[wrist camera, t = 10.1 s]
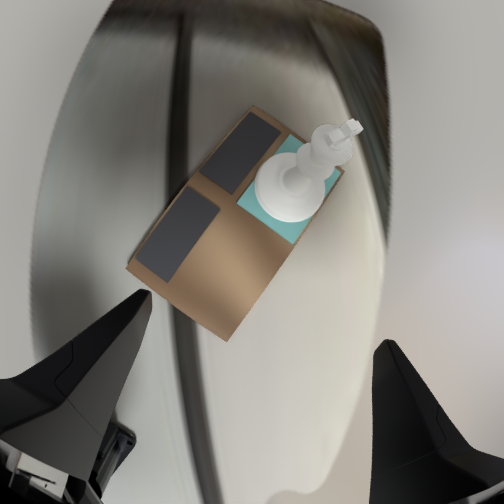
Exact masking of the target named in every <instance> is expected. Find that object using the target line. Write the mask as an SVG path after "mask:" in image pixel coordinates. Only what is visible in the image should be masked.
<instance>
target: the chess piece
mask: <svg viewBox="0 0 504 504" xmlns="http://www.w3.org/2000/svg"><path fill="white" fill-rule="evenodd" d="M362 130H363V128H362V126H361V125H360V123H359V122H358V121H355V120H354V119H351V120H348V121H346V122H345V123H344V124H343V125H342V126H341V127H339V126H337V125H333V124H323V125H320V126H319V127H317V128H316V129H315V130H314V132H313V133H312V136H311V142H309V143H306V144H304V145H302V146H301V147H300V148H299V149H298V151H297V153H291V152H286V153H280V154H277V155H274V156H272V157H271V158H269V159H268V160H267V161H266V162H264V163H263V164H262V166H261V167H260V168H259V170H258V172H257V174H256V178H255V184H254V187H255V194H256V197H257V200H258V202H259V204H260V205H261V207H262V208H263V209H264V210H265V211H266V212H267V213H268V214H269V215H270V216H272V217H273V218H275V219H277V220H280V221H283V222H300V221H303V220H305V219H307V218H309V217H311V216H312V215H313V214H314V213H315V212H316V211H317V210H318V209H319V207H320V206H321V204H322V202H323V199H324V196H325V182H324V180H325V179H327V178H329V177H330V176H331V175H332V173H333V171H334V168H335V166H339V165H342V164H345V163H346V162H348V161H349V160H350V158H351V157H352V154H353V143H352V140H351V138H350V137H352V136H354V135H356V134H358V133H360V132H361V131H362Z"/></svg>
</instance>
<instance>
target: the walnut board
mask: <svg viewBox="0 0 504 504" xmlns="http://www.w3.org/2000/svg"><path fill="white" fill-rule="evenodd" d="M250 111H251V112H252V113H254V114H256V115H257V116H259V117H260V118H262V119H263V120H265V121H266V122H268V123H269V124H271V125H272V126H274V127H275V128H276V129H278V130H279V131H281V134H280V135H279V136H278V137H277V138H276V140H275V141H274V142H273V143H272V145H271V146H270V147H269V148H268V150H267V151H266V152H265V153H264V155H263V156H262V157H261V158H260V160H259V161H258V162H257V163H256V165H255V166H254V167H253V168H252V170H251V171H250V172H249V173H248V175H247V176H246V177H245V179H244V180H243V181H242V182H241V184H240V185H239V186H238V188H237V189H236V190H235V192H234V193H233V194H232V195H231V194H230V193H229V192H227V191H226V190H224V189H223V188H222V187H220V186H219V185H217V184H216V183H215V182H213V181H212V180H210V179H209V178H207V177H206V176H205V175H203V174H202V173H200V172H199V170H200V169H201V168H202V167H203V165H204V164H205V163H206V162H207V160H208V159H209V158H210V157H211V156H212V154H213V153H214V152H215V151H216V150H217V148H218V147H219V146H220V145H221V144H222V143H223V141H224V140H225V139H226V138H227V137H228V136H229V134H230V133H231V132H232V131H233V130H234V129H235V128H236V127H237V125H238V124H239V123H240V122H241V121H242V120H243V119H244V118H245V117H246V115H247V114H248V113H249V112H250ZM290 134H291V135H292V136H294V137H295V138H297V139H298V140H299V141H301V142H302V143H303V144H306V143H308V142H306V141H305V140H304V139H302V138H301V137H299V136H298V135H297V134H295V133H294V132H292V131H291V130H290V129H288V128H287V127H285V126H284V125H282V124H281V123H280V122H278V121H277V120H275V119H274V118H272V117H271V116H269V115H268V114H266V113H265V112H263V111H262V110H260V109H259V108H257V107H255V106H254V105H253V106H252V107H251V108H250V109H249V110H248V111H247V113H246V114H245V115H244V116H243V117H242V118H241V119H240V120H239V121H238V122H237V124H236V125H235V126H234V127H233V128H232V129H231V130H230V131H229V133H228V134H227V135H226V136H225V137H224V138H223V140H222V141H221V142H220V143H219V144H218V145H217V147H216V148H215V149H214V150H213V151H212V152H211V154H210V155H209V156H208V157H207V158H206V160H205V161H204V162H203V163H202V165H201V166H200V167H199V168H198V169H197V171H196V172H195V173H194V174H193V176H192V177H191V178H190V179H189V181H188V182H187V183H186V185H185V186H184V187H183V188H182V190H181V191H180V192H179V194H178V195H177V196H176V198H175V199H174V200H173V201H172V203H171V204H170V205H169V207H168V208H167V209H166V211H165V212H164V214H163V215H162V216H161V218H160V219H159V220H158V222H157V223H156V225H155V226H154V227H153V229H152V230H151V232H150V233H149V234H148V236H147V237H146V239H145V240H144V242H143V243H142V244H141V246H140V247H139V249H138V250H137V252H136V253H135V255H134V256H133V258H132V259H131V261H130V262H129V264H128V265H127V267H126V268H125V269H127V270H128V271H129V272H130V273H132V274H133V275H134V276H135V277H137V278H138V279H139V280H141V281H142V282H143V283H144V284H146V285H147V286H148V287H150V288H151V289H152V290H154V291H155V292H156V293H157V294H159V295H160V296H161V297H163V298H164V299H166V300H167V301H168V302H170V303H171V304H172V305H174V306H175V307H176V308H178V309H179V310H181V311H182V312H183V313H185V314H186V315H188V316H189V317H190V318H192V319H193V320H195V321H196V322H198V323H199V324H200V325H202V326H203V327H205V328H206V329H208V330H209V331H211V332H212V333H214V334H215V335H217V336H218V337H220V338H221V339H223V340H224V341H226V342H227V341H228V340H229V338H230V337H231V336H232V334H233V333H234V332H235V330H236V329H237V327H238V326H239V325H240V323H241V322H242V321H243V319H244V318H245V316H246V315H247V314H248V312H249V311H250V309H251V308H252V307H253V305H254V304H255V302H256V301H257V300H258V298H259V297H260V295H261V294H262V293H263V291H264V290H265V288H266V287H267V286H268V284H269V283H270V281H271V280H272V278H273V277H274V276H275V274H276V273H277V271H278V270H279V268H280V267H281V266H282V264H283V263H284V261H285V260H286V258H287V257H288V255H289V254H290V253H291V251H292V250H293V248H294V247H295V245H296V244H297V242H298V241H299V239H300V238H301V236H302V235H303V233H304V232H305V231H306V229H307V228H308V226H309V225H310V223H311V222H312V220H313V219H314V217H315V216H316V214H317V213H318V211H319V210H320V208H321V207H322V205H323V204H324V202H325V201H326V199H327V198H328V196H329V195H330V193H331V192H332V190H333V189H334V187H335V185H336V184H337V182H338V181H339V179H340V178H341V176H342V175H343V173H344V172H345V171H344V170H342V169H341V168H340V167H339V166H335V168H336V169H337V170H339V171H340V172H341V174H340V175H339V177H338V178H337V180H336V181H335V183H334V185H333V186H332V188H331V189H330V191H329V192H328V194H327V195H326V197H325V198H324V200H323V202H322V204H321V206H320V207H319V209H318V210H317V211H316V212H315V213H314V215H313V216H312V218H311V219H310V220H309V222H308V223H307V225H306V226H305V228H304V229H303V231H302V232H301V234H300V235H299V237H298V238H297V240H296V241H295V243H294V244H293V245H292V244H291V243H290V242H288V241H287V240H286V239H284V238H283V237H282V236H280V235H279V234H278V233H276V232H275V231H274V230H272V229H271V228H269V227H268V226H267V225H265V224H264V223H263V222H261V221H260V220H259V219H257V218H256V217H254V216H253V215H252V214H250V213H249V212H248V211H246V210H245V209H243V208H242V207H241V206H239V205H238V204H237V202H238V201H239V199H240V198H241V197H242V195H243V194H244V193H245V191H246V190H247V189H248V187H249V186H250V185H251V183H252V182H253V181H254V180H255V178H256V174H257V172H258V170H259V168H260V167H261V166H262V164H263V163H264V162H266V161H267V160H268V159H269V158H271V157H272V156H273V155H274V154H275V153H276V151H277V150H278V149H279V148H280V146H281V145H282V144H283V143H284V141H285V140H286V139H287V138H288V136H289V135H290ZM187 186H188V187H190V188H191V189H193V190H194V191H195V192H197V193H198V194H200V195H201V196H202V197H204V198H205V199H207V200H208V201H209V202H211V203H212V204H214V205H215V206H216V207H218V208H219V209H220V211H219V213H218V214H217V215H216V217H215V218H214V219H213V221H212V222H211V223H210V225H209V226H208V228H207V229H206V230H205V232H204V233H203V234H202V236H201V237H200V238H199V240H198V241H197V243H196V244H195V245H194V247H193V248H192V250H191V251H190V252H189V254H188V255H187V257H186V258H185V259H184V261H183V262H182V264H181V265H180V266H179V268H178V269H177V271H176V272H175V274H174V275H173V276H172V278H171V279H170V281H169V282H168V283H166V282H165V281H164V280H162V279H161V278H160V277H158V276H157V275H156V274H154V273H153V272H152V271H150V270H149V269H148V268H146V267H145V266H144V265H143V264H141V263H140V262H139V261H138V260H136V259H135V257H136V256H137V254H138V253H139V251H140V250H141V248H142V247H143V245H144V244H145V242H146V241H147V240H148V238H149V237H150V235H151V234H152V232H153V231H154V230H155V228H156V227H157V225H158V224H159V223H160V221H161V220H162V219H163V217H164V216H165V214H166V213H167V212H168V210H169V209H170V208H171V206H172V205H173V204H174V202H175V201H176V200H177V198H178V197H179V196H180V194H181V193H182V192H183V191H184V189H185V188H186V187H187Z"/></svg>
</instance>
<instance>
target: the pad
mask: <svg viewBox="0 0 504 504" xmlns="http://www.w3.org/2000/svg"><path fill="white" fill-rule="evenodd" d="M302 145H304V144H303V143H302V142H301V141H299V140H298V139H297V138H295V137H294V136H292V135H291V134H290V135H289V136H288V138H287V139H286V140H285V141H284V143H283V144H282V145H281V146H280V148H279V149H278V150H277V151H276V153H275V154H274V155H277V154H280V153H286V152H291V153H297V151H298V149H299V148H300V147H301V146H302ZM274 155H273V156H274ZM340 174H341V172H340V171H339V170H337V169H336V168H334V171H333V173H332V175H331V176H330V177H329V178H327V179H325V180H324V182H325V196H324V198H325V197H326V195H327V194H328V192H329V191H330V189H331V188H332V186H333V185H334V183H335V181H336V180H337V178H338V177H339V175H340ZM254 184H255V180H254V181H253V182H252V183H251V185H250V186H249V187H248V189H247V190H246V191H245V193H244V194H243V195H242V197H241V198H240V199H239V201H238V202H237V204H238V205H239V206H241V207H242V208H243V209H245V210H246V211H248V212H249V213H250V214H252V215H253V216H254V217H256V218H257V219H259V220H260V221H261V222H263V223H264V224H265V225H267V226H268V227H269V228H271V229H272V230H274V231H275V232H276V233H278V234H279V235H280V236H282V237H283V238H284V239H286V240H287V241H288V242H290V243H291V244H292V245H293V244H294V243H295V241H296V240H297V238H298V237H299V235H300V234H301V232H302V231H303V229H304V228H305V226H306V225H307V223H308V222H309V220H310V219H311V218H312V216H313V215H314V214H313V215H312V216H311V217H309V218H307V219H305V220H303V221H300V222H283V221H280V220H277V219H275V218H273V217H272V216H270V215H269V214H268V213H267V212H266V211H265V210H264V209H263V208H262V207H261V205H260V204H259V202H258V200H257V197H256V194H255V187H254ZM323 200H324V199H323Z"/></svg>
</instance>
